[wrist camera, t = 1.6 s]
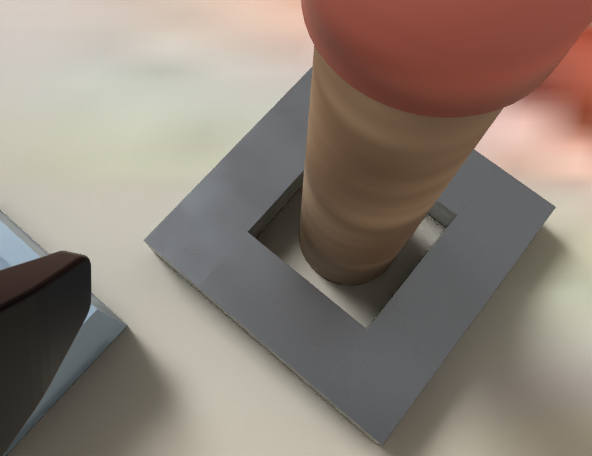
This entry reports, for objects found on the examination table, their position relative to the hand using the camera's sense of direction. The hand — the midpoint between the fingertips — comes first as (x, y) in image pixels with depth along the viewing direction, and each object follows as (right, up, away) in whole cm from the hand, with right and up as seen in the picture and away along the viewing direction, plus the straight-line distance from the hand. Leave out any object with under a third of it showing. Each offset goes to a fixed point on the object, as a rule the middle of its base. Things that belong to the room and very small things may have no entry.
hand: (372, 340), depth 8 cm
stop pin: (+1, +1, +14) cm, 14 cm away
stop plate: (+1, +1, +14) cm, 14 cm away
